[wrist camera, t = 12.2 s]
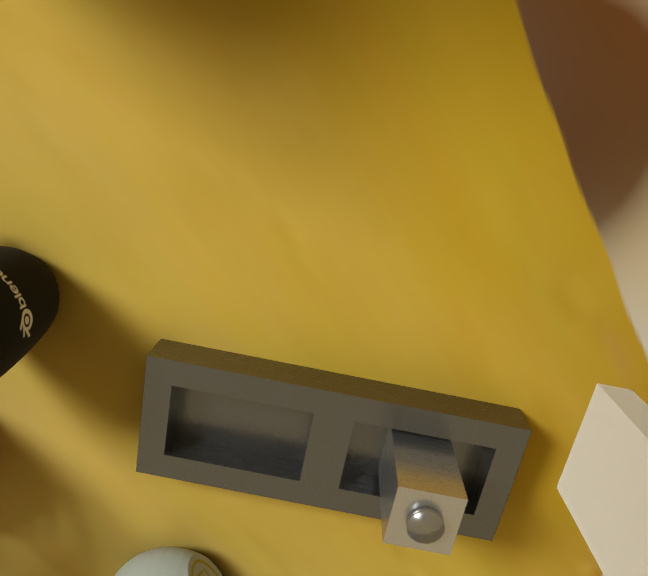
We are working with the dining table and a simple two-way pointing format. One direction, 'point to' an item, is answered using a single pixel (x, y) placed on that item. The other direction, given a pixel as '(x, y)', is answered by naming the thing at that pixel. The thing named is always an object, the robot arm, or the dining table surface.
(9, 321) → the mug
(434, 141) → the dining table surface
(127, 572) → the air freshener
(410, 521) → the grey knobbed block
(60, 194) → the dining table surface
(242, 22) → the dining table surface
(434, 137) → the dining table surface
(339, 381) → the divided tray
